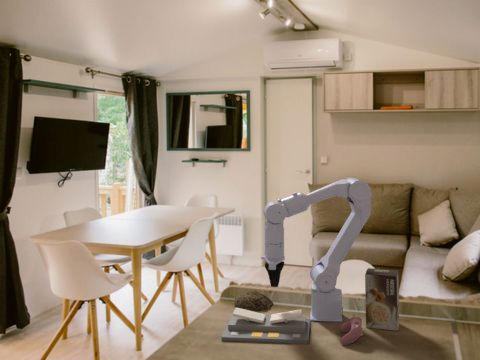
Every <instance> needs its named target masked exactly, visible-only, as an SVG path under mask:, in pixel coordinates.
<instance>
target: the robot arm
mask: <svg viewBox="0 0 480 360" xmlns="http://www.w3.org/2000/svg"><path fill="white" fill-rule="evenodd" d="M291 194H292V195H290V196H287V197H284V198H282V199H281V198H278V199H277V201H270V202H268V203H266V205H265V206H264V209H263V215H264V217H265V221H264V225H265V227H264V254H263V255H261V257H260V259H261V260H265V263H264V268H265V270H266V272H267V274H268V279H269V283H270V287H271V288H279V284H280V278H281V274H282V273H281V272H282V271H283V268H284V266H285V262H284V261H285V260H286V259H285V227H284V221H285V219H286V218H290V217H293V216H296V215H299V214H301V213H304V212H306V211H308V209H309V207H310V206H311V205H313V204H315V203H319V202H322V201H324V200H328V199H330V198H334V197H337V198H342V199H347V201H348V203H349V207H350V210H351V212H350V214H349V215H348V217H347V219H346V220H345V222H344V224H343V225H342V227H341V229H340V230H339V232H338V234H337V236H336V237H335V238H334V241H333V242H332V244H331V246H330V247H329V249H328V251H327V252H326V254H325V255H324V256H322V257H321V258H320V259H319V261H318V262H317V263H315V264H314V265H313V266H312V267H311V269H310V272H309V275H310V278H311V280H312V281H313V283H312V285H311V286H310V289H311V292H310V293H311V294H310V295H311V296H310V297H311V298H310V299H311V304H310V305H311V310H310V311H309V312H310V314H309V315H310V316H309V319H310V322H334V323H337V322H338V323H341V322H343V314H344V307H343V293H342V289H341V288H337V287H336V286H337V282H338V281H337V280H338V277H339V274H340V271H341V264H342V263H343V261H344V260H345V258H346V256H347V254H348V253H349V251H350V250H351V248H352V246H353V244H354V243H355V241H356V240H357V237H358V236H359V235H360V233H361V231H362V229H363V228H364V226H365V225H366V224H367V221H368V219H369V218H370V216H371V214H372V213H371V212H372V206H371V205H372V197H373V192H372V190H371V187H370V185H369V184H368V183H367V182H366V181H364V180H361V179H359V178H357V177H356V176H350V177H347V178H345V179H344V178H343V179H338V180H337V181H334V182H332V183H330V184H327V185H325V186H322V187H319V188H318V189H316V190H313V191H311V192H309V193H306V194H305V193H302V192H297V191H294V192H292V193H291Z"/></svg>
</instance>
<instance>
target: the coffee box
mask: <svg viewBox="0 0 480 360" xmlns="http://www.w3.org/2000/svg"><path fill="white" fill-rule="evenodd" d="M399 277H400V276H399V270H397V269H395V270H394V269H381V268H373V267H372V268H369V267H368V268H367V269H366V271H365V274H364V282H365V284H364V285H365V286H364V287H365V290H364V292H365V293H364V294H365V295H364V296H365V297H364V298H365V328H369V329H379V330H380V329H381V330H385V331H386V330H387V331H388V330H390V331H394V332H395V331H399V327H400V303H399V302H400V301H399V300H400V298H399V297H400V296H399V295H400V294H399V291H400V290H399V288H400V286H399V285H400V284H399V283H400V282H399V281H400V280H399V279H400V278H399Z"/></svg>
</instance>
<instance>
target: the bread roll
mask: <svg viewBox="0 0 480 360" xmlns="http://www.w3.org/2000/svg"><path fill="white" fill-rule="evenodd" d="M233 302H234V304H233V305H234V309H235V308H236V307H237V308H241V309H245V310H250V311H254V312H260V311H266V310H268V309H270V307H271V305H273V304H274V302H273V300H272V299H271V298H270V297H268V296H267V295H265V294H263V293H260V292H259V291H256V290H254V291H248V292H242V293H240V294H238V295H237V296H236V297H235V299H234V301H233Z"/></svg>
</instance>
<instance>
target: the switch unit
mask: <svg viewBox="0 0 480 360" xmlns="http://www.w3.org/2000/svg"><path fill="white" fill-rule="evenodd" d="M271 315H272V314H271ZM271 315H270V314H269V315H266V314H265V318H264V321H263V323H259V322H255V321H251V320H249V321H246V319H242V318H238V317H234V316H233V314H232V315H231V316H230V317H229V320H228V322H227V325H226V326H225V329H224V331H223V333H222V335H221V339H220V340H221V341H227V342H255V343H276V344H277V343H278V344H280V343H281V344H300V345H301V344H304V345H308V344H309V340H310V339H309V338H310V328H311V327H310V326H311V324H310V323H311V321H310V318H307V316H303V315H302V317H301V319H295V320H289V321H288V322H287V323H285V322H284V321H283V322H277V323H271V324H270V319H271Z"/></svg>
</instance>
